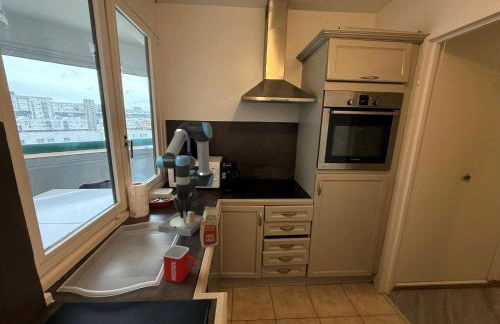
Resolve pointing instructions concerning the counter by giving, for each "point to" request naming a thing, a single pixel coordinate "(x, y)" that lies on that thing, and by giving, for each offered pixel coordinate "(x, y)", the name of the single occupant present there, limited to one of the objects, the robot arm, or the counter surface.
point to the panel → (189, 231)
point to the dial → (189, 221)
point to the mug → (176, 263)
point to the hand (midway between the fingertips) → (183, 222)
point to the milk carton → (209, 227)
